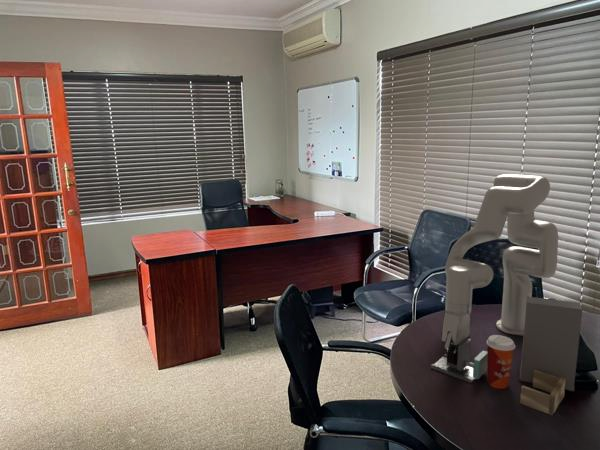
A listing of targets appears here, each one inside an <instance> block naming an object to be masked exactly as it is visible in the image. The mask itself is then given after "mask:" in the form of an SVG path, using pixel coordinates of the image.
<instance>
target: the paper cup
mask: <svg viewBox="0 0 600 450" xmlns="http://www.w3.org/2000/svg"><path fill="white" fill-rule="evenodd" d="M486 345H487V352H488V354H487V364H488V367H487V384H488V385H489V386H490V387H492V388H495V389H497V390H504V389H507V388H508V387H509V385H510V384H509V383H510V378H511V371H512V366H513V365H512V364H513V357H514V351H515V349H516V345H515V342H514V340H513V339H511V337H508V336H505V335H500V334H492V335H490V336H489V337H488V338H487V340H486Z"/></svg>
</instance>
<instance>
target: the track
mask: <svg viewBox="0 0 600 450" xmlns="http://www.w3.org/2000/svg"><path fill="white" fill-rule="evenodd" d="M470 363H473V364H474V362H471V361H470ZM430 368H431V369H432V370H435V371H438V372H440V373H443V374H446V375H449V376H451V377H454V378H456V379H460V380H463V381H465V382H468V383H470V384H472V383H473V382H474V381H475V380H477V379H476V378H473V368H472V367H470V366H466V367H465V368H464V369H463V370H462V371H459V370H457V369H456V368H453V367H450V366H448V365H447V353H444V354H443V356H442V357H441V358H439V360H437V361H436V362H435V363H432V364H430Z"/></svg>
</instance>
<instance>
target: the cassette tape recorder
mask: <svg viewBox="0 0 600 450" xmlns="http://www.w3.org/2000/svg"><path fill="white" fill-rule="evenodd" d="M582 317H583V307H582V303H580V302H576V301H575V302H574V301H568V300H567V301H566V300H559V299H551V298H550V299H549V298H544V297H535V296H532V297H527V300H526V312H525V323H524V335H522V337H523V338H522V348H521V361H520V363H521V364H520V367H519V381H520V382H521V383H522V382H523V383H524V382H526V383H530V384H533V375H534V370H537V371H541V372H544V373H547V374H550V375H553V376H556V377H559V378H561V377H562V376H565V377H566V386H565V391H566V390H567V391H569V392H575V380H576V370H577V362H578V353H579V352H578V351H579V344H580V335H581V328H582V327H581V326H582Z"/></svg>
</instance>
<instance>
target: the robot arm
mask: <svg viewBox="0 0 600 450" xmlns="http://www.w3.org/2000/svg"><path fill="white" fill-rule="evenodd" d="M550 184H551V183H550V181H549V180H548V178H546V177H545V176H540V175H528V174H527V175H525V174H515V173H513V174H512V173H508V174H507V173H505V174H500V175H497V176H496V177H495V178H494V181H493V186H492V187H489V188H488V189H487V190H486V192H485V194H484V195H483V196H484V197H483V200H482V203H481V206H480V208H479V212H478V213H477V217H476V219H475V222H474V226H473V227H472V228H471V229H470V230H468V231H467V232H465V233H464V234H463V235H462V236H460V238H458V239H457V240H456V242H454V244H453V245H452V246H451V249H450V251H449V254H448V257H447V260H446V263H445V269H444V271H445V272H444V273H445V275H446V285H445V289H446V290H445V292H446V293H445V312H444V313H445V314H444V319H443V324H442V325H443V326H442V331H443V333H442V332H441V333H442V336H441V341H442V342H445V343H444V349H446V354H447V362H448V363H451V364H454V365H457V361H458V353H457V348H458V344H459V343H461V342H462V341H463V340H465V339H466V338H467V337H468V335H469V336H470V331H471V330H470V329H471V314H472V303H473V290H474V289H479V288H480V289H481V288H484V287H487V286H488V285H490V284H491V283H492V280H493V279H494V270H493V268H492V267H491V266H490V265H488V264H487V263H483V262H479V261H475V260H469V259H465V258H464V257H465V254H466V253H467V251H468V250H470V249H471V248H472V247H474V246H476V245H479V244H482V243H486V242H490V241H495V240H497V239H499V238H500V237H501V236H502V234H503V231H504V228H505V224H507V228H506V229H507V239H508V241H509V242H510V243H512V244H514V245H517V246H514V245H513V246H509V247H507V248H505V250H504V251H503V254H502V266H503V290H502V305H501V317H500V319H499V320H497V321H496V326H495V327H497V329H498V330H500V331H501V332H503V333H505V334H509V335H514V336H523V335H524V323H525V312H526V300H527V297H533V296H532V295H533V283H532V280H531V278H530V276H532V277H536V278H541V279H551V278H552V277H553V276H554V275H555V274H556V271H557V266H558V251H559V250H558V248H559V231H558V227H557V226H556V225H555V224H554V223H552V222H549V221H544V220H537V219H536V218H535V209H537V208H538V207H539V206H540V205H541V204H542V203H543V202H545V201H546V199H547V197H548V196H549V194H550V190H551V185H550ZM506 221H507V223H506ZM534 248H535V249H534ZM452 341H453V342H452ZM451 345H455V346H454V348H453V347H452V346H451Z"/></svg>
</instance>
